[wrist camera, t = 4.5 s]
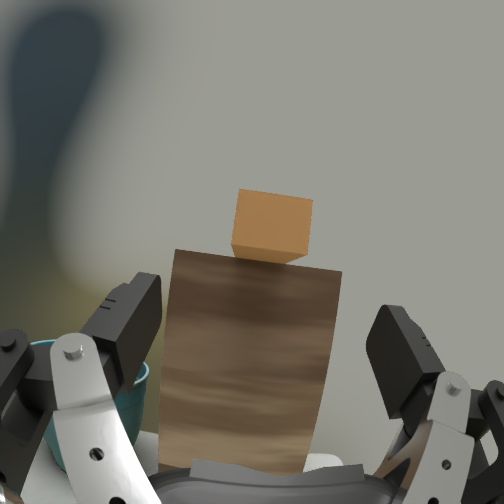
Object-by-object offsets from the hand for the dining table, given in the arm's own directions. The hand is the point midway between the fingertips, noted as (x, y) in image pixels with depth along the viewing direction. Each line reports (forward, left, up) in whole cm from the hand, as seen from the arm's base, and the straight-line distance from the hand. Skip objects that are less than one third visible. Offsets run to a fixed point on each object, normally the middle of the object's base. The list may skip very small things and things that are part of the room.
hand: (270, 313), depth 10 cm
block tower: (-7, +18, -29) cm, 35 cm away
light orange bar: (-6, +15, +3) cm, 17 cm away
